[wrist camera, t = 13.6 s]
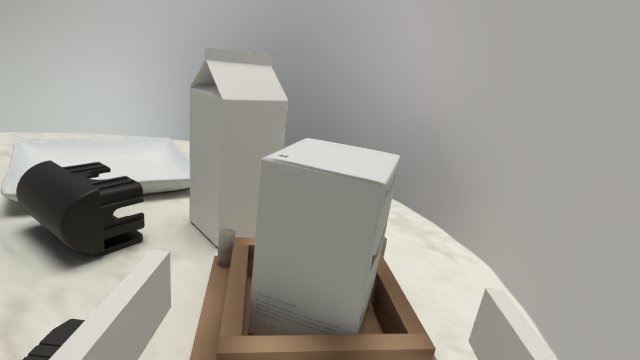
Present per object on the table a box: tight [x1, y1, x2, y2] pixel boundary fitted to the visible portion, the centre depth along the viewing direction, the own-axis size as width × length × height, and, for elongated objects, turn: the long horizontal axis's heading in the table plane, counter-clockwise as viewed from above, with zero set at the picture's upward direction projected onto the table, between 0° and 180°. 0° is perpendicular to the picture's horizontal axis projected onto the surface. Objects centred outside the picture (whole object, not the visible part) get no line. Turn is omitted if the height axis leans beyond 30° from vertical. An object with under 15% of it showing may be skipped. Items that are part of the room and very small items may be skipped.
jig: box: [190, 229, 437, 360], centre depth 26 cm, size 16×16×4 cm
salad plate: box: [1, 138, 190, 202], centre depth 50 cm, size 21×21×3 cm
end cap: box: [16, 160, 144, 257], centre depth 34 cm, size 10×7×7 cm
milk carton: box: [190, 48, 288, 247], centre depth 37 cm, size 7×7×19 cm
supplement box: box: [248, 138, 400, 336], centre depth 24 cm, size 7×7×13 cm
